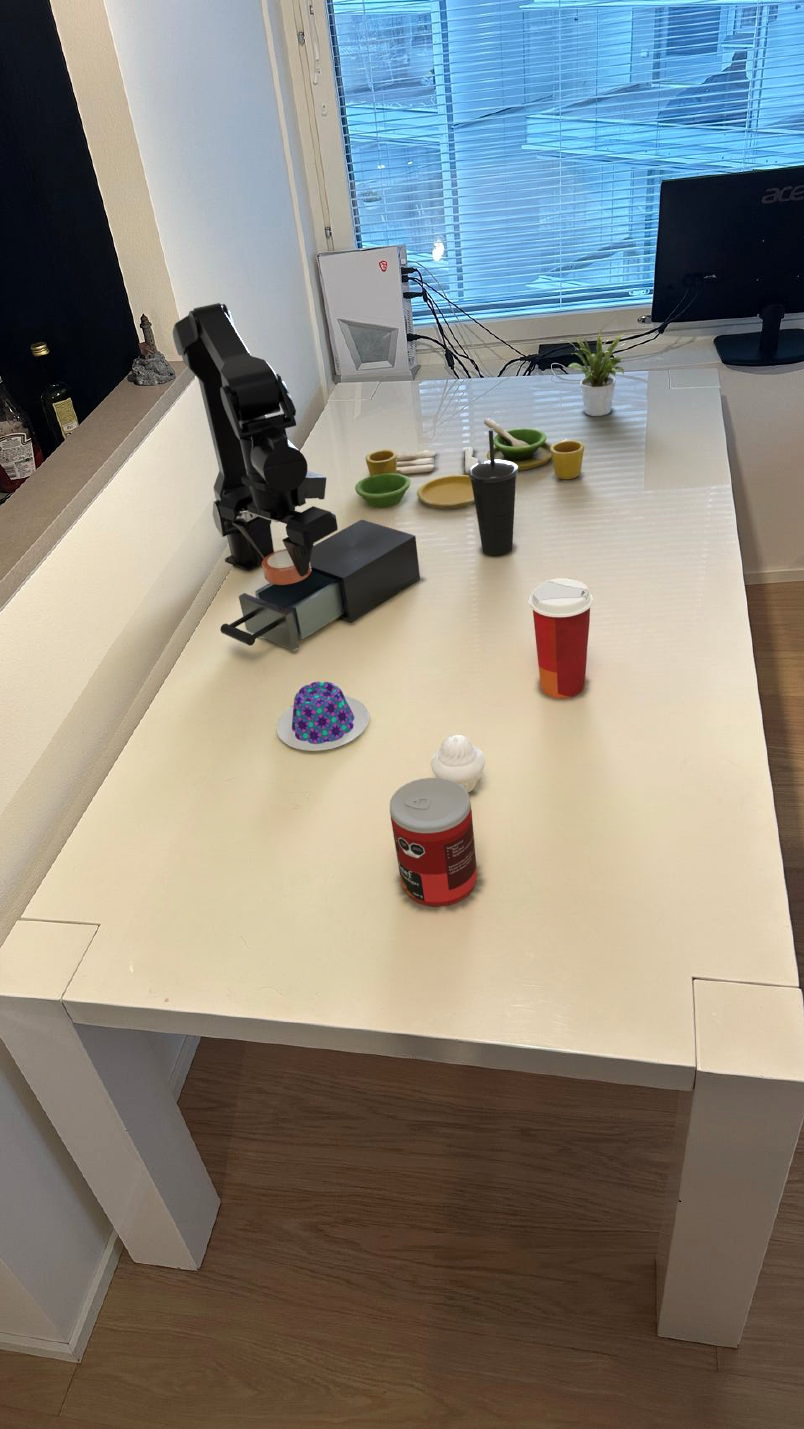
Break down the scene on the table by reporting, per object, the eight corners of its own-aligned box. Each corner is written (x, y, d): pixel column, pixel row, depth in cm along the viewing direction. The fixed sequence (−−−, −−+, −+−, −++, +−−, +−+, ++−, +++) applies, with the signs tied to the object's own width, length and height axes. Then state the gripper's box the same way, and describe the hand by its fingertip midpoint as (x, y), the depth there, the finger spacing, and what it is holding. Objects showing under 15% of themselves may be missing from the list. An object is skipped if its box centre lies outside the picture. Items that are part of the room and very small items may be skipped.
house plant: (554, 426, 204) (553, 344, 195) (558, 402, 215) (556, 323, 206) (627, 423, 201) (629, 340, 192) (626, 399, 212) (628, 319, 203)
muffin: (434, 770, 120) (428, 723, 116) (486, 767, 119) (482, 720, 115) (433, 805, 115) (427, 757, 111) (487, 802, 114) (483, 753, 110)
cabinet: (350, 623, 150) (343, 578, 145) (298, 602, 157) (289, 558, 152) (420, 579, 158) (415, 535, 154) (367, 561, 165) (361, 519, 161)
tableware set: (577, 441, 196) (577, 409, 193) (589, 502, 174) (589, 467, 171) (368, 458, 201) (364, 427, 198) (354, 519, 179) (349, 485, 175)
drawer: (262, 669, 140) (254, 634, 137) (216, 648, 146) (207, 613, 143) (363, 606, 151) (358, 572, 148) (316, 588, 158) (310, 555, 154)
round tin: (255, 579, 145) (251, 562, 144) (290, 560, 149) (287, 543, 148) (286, 592, 141) (283, 574, 140) (321, 571, 145) (318, 554, 143)
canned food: (398, 860, 108) (386, 782, 102) (472, 850, 108) (464, 771, 102) (404, 913, 102) (391, 833, 95) (482, 903, 102) (475, 822, 95)
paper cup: (597, 672, 132) (598, 578, 124) (586, 706, 127) (586, 609, 119) (539, 666, 135) (536, 574, 127) (525, 699, 129) (521, 604, 121)
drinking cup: (518, 560, 160) (513, 438, 148) (470, 560, 162) (461, 440, 150) (523, 538, 166) (518, 419, 154) (477, 538, 167) (469, 421, 156)
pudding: (348, 761, 123) (342, 727, 120) (261, 748, 127) (253, 714, 124) (384, 704, 132) (379, 671, 129) (301, 694, 136) (294, 661, 133)
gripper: (358, 457, 134) (372, 561, 143) (266, 433, 145) (285, 532, 155) (296, 488, 128) (316, 595, 137) (206, 461, 139) (229, 561, 148)
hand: (287, 568), depth 145 cm, fingers closed on round tin, 7 cm apart
